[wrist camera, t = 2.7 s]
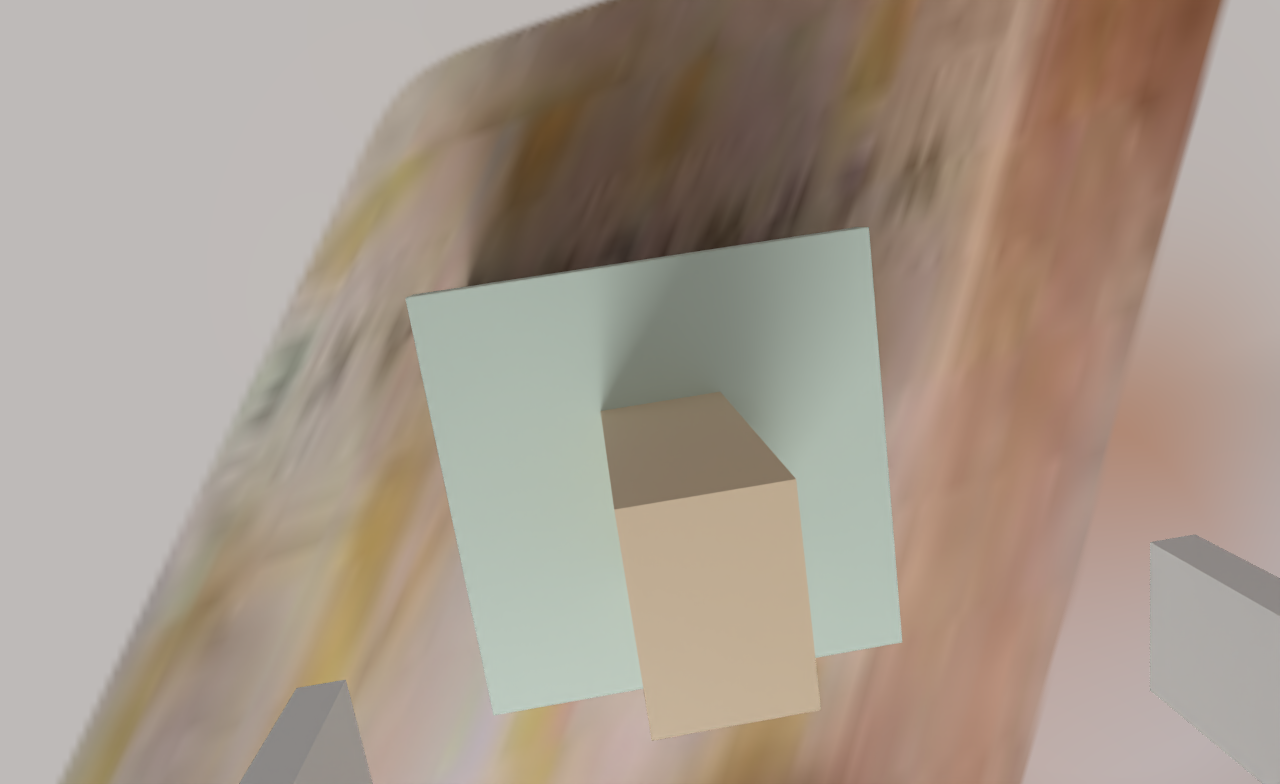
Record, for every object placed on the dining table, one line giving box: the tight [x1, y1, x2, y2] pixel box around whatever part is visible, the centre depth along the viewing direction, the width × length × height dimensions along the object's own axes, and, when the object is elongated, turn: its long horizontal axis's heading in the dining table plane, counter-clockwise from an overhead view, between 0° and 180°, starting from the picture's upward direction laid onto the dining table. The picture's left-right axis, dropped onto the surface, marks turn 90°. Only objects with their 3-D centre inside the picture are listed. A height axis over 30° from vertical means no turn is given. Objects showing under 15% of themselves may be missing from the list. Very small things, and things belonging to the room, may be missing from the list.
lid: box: [406, 227, 902, 741], centre depth 20 cm, size 13×13×10 cm
